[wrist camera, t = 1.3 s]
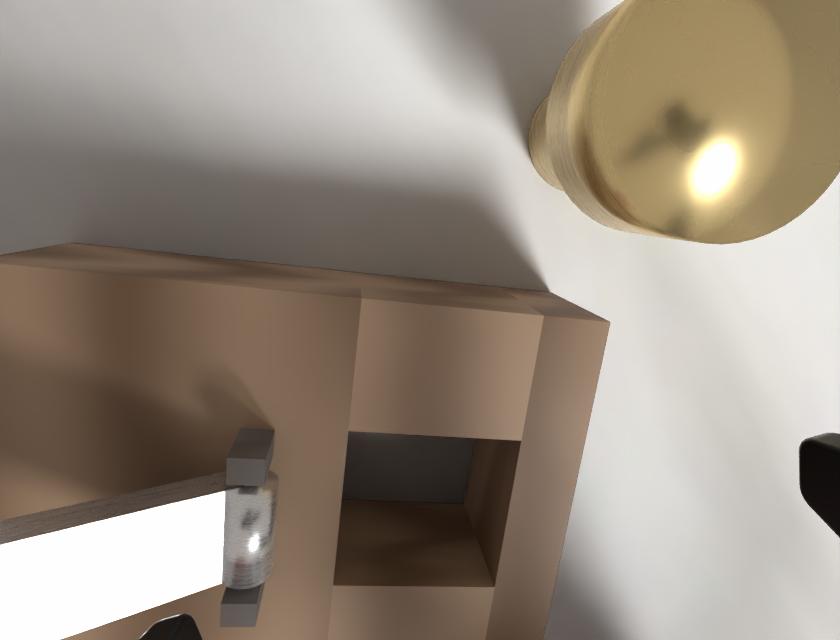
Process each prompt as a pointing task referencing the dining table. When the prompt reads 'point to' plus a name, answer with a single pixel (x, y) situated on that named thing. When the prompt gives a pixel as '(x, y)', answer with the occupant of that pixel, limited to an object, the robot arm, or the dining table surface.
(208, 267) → the brown rectangular block
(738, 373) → the dining table surface
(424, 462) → the dining table surface
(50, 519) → the latch bar
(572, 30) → the dining table surface
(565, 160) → the brass pin
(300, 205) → the dining table surface
